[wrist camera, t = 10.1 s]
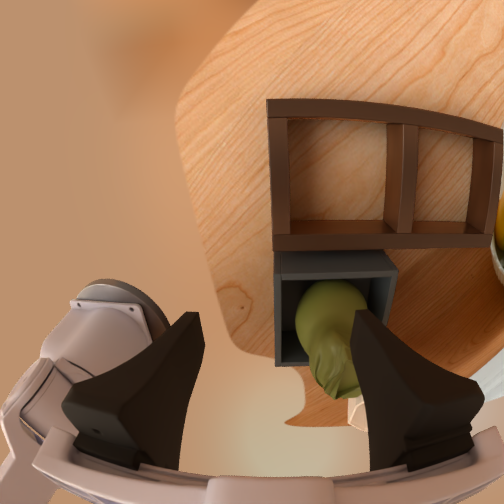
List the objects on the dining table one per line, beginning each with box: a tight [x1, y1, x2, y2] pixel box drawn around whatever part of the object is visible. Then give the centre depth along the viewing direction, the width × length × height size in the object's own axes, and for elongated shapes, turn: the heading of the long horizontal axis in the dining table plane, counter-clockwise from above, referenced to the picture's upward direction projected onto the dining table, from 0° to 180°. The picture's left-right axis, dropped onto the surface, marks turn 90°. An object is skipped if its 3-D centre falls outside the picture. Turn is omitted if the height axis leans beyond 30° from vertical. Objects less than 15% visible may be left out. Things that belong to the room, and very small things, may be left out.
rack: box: [266, 99, 503, 252], centre depth 18 cm, size 10×19×3 cm, turn 93°
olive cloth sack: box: [295, 279, 367, 400], centre depth 19 cm, size 6×5×10 cm
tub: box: [273, 249, 399, 367], centre depth 22 cm, size 8×8×5 cm
